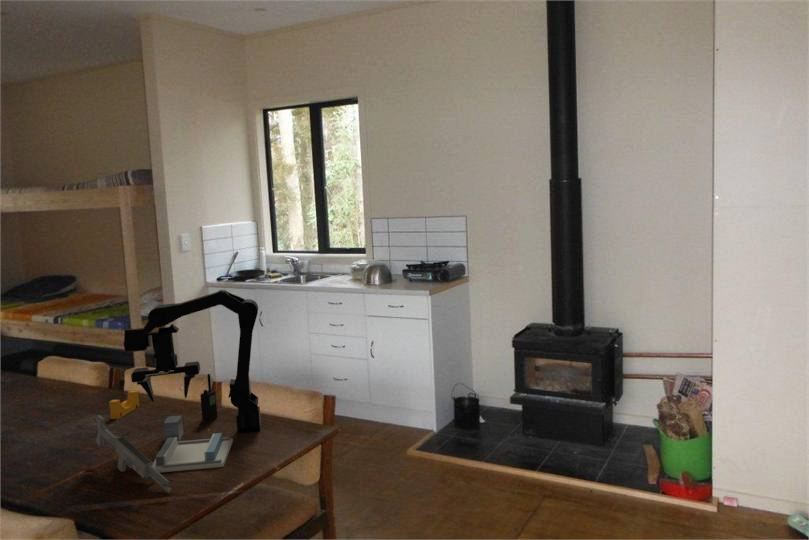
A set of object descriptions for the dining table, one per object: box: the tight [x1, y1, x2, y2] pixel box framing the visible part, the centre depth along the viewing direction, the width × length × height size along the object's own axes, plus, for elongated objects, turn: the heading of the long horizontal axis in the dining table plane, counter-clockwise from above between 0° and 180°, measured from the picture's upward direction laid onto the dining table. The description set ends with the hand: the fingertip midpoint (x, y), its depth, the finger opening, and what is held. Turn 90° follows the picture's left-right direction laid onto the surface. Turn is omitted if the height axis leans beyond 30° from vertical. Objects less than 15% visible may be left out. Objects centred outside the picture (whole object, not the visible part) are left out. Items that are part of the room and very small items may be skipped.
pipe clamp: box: [108, 390, 140, 420], centre depth 220 cm, size 12×4×6 cm, turn 169°
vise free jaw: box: [204, 432, 224, 461], centre depth 181 cm, size 2×14×2 cm, turn 7°
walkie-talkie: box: [200, 373, 218, 423], centre depth 209 cm, size 5×3×15 cm
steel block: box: [163, 415, 184, 443], centre depth 195 cm, size 4×6×6 cm, turn 7°
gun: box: [95, 414, 172, 494], centre depth 169 cm, size 36×4×10 cm, turn 50°
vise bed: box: [152, 436, 234, 474], centre depth 180 cm, size 19×18×4 cm
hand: (169, 399), depth 194 cm, fingers open, 9 cm apart
